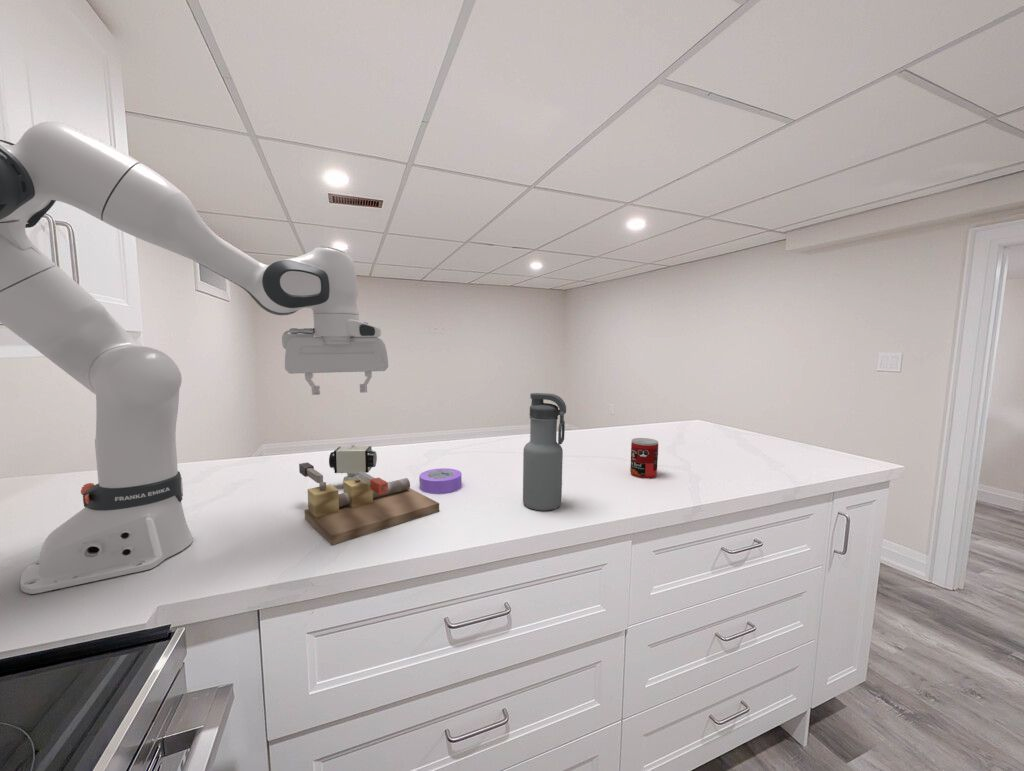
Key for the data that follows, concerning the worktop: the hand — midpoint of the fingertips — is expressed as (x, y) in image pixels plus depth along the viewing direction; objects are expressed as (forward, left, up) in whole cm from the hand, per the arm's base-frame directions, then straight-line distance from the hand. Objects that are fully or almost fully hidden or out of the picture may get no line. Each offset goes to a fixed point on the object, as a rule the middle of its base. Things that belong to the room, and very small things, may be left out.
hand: (340, 393), depth 88 cm
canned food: (+82, -27, -29) cm, 92 cm away
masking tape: (+29, +6, -30) cm, 42 cm away
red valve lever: (+5, -1, -22) cm, 22 cm away
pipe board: (+7, +5, -29) cm, 30 cm away
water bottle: (+41, -22, -29) cm, 55 cm away
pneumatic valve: (+11, +22, -29) cm, 39 cm away
